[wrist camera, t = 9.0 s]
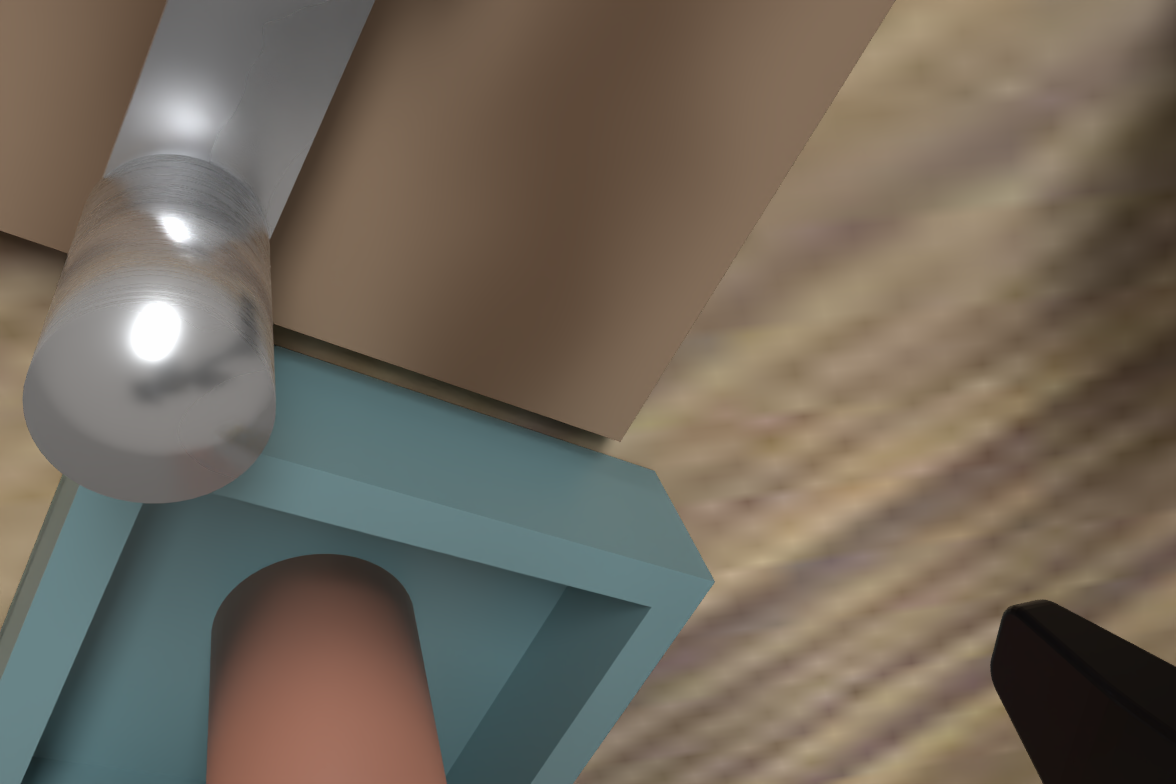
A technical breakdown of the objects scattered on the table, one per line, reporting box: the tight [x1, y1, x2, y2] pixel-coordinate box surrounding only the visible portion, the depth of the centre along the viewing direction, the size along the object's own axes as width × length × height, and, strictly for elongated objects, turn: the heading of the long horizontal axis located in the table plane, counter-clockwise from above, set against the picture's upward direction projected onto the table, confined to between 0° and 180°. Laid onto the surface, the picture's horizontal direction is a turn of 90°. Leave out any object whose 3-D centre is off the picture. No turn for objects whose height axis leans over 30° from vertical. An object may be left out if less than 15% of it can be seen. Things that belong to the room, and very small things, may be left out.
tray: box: [0, 345, 715, 784], centre depth 23 cm, size 12×12×4 cm
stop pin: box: [206, 554, 447, 784], centre depth 21 cm, size 4×4×8 cm
